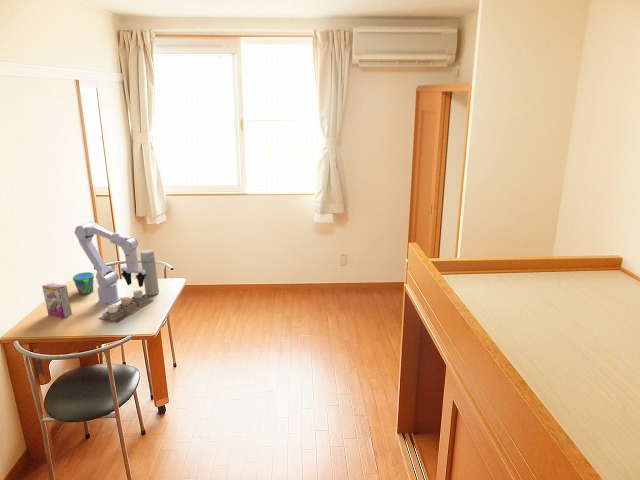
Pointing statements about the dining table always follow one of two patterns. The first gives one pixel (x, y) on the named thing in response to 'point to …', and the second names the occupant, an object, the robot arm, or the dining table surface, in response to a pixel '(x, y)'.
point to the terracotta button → (125, 302)
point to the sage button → (138, 295)
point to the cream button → (112, 309)
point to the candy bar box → (57, 300)
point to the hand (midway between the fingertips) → (135, 285)
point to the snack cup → (84, 282)
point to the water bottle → (149, 272)
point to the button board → (126, 309)
